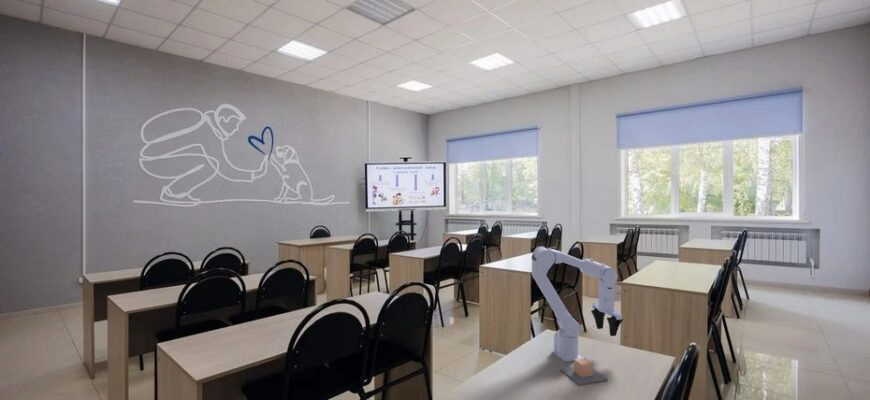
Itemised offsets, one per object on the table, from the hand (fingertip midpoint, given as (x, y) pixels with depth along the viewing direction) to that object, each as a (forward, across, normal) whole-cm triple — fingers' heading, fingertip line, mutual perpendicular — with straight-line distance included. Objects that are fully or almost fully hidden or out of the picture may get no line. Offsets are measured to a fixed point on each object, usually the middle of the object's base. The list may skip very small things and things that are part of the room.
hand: (606, 332), depth 154 cm
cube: (+9, -11, +18) cm, 23 cm away
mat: (+9, -11, +18) cm, 23 cm away
